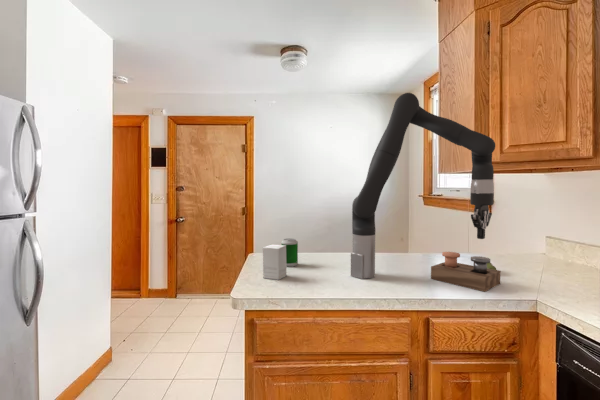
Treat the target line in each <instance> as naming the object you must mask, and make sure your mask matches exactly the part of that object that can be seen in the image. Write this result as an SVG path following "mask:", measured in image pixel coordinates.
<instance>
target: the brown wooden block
mask: <svg viewBox="0 0 600 400" xmlns="http://www.w3.org/2000/svg"><path fill="white" fill-rule="evenodd" d="M473 266H474V265H473V264H471V265H470V264H468V263H467V264H466V263H462V262H457V268H450V267H445V261H444V262H441V263H438V264H434V265H432V266H431V267H430V279H431V280H433V281H439V282H442V283H447V284H450V285H456V286H458V287H463V288H467V289H472V290H475V291H480V292H485V293H486V292H487V291H490V290H492V289H493V288H495V287H496V286H499V285H501V274H502V273H501V270H498V269H496V270H493V269H488V268H487V274H480V273H475V272H473Z"/></svg>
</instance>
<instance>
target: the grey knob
mask: <svg viewBox="0 0 600 400" xmlns="http://www.w3.org/2000/svg"><path fill="white" fill-rule="evenodd" d="M470 261H471V262H473V265H472V266H473V272H475V273H480V274H487V263H491V258H489V257H486V256H470Z"/></svg>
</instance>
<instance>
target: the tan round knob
mask: <svg viewBox="0 0 600 400" xmlns="http://www.w3.org/2000/svg"><path fill="white" fill-rule="evenodd" d="M441 254H442V257H444V262H445V267H450V268H457V263H458V258H460V257H461V254H460V252H455V251H442V253H441Z"/></svg>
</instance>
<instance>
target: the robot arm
mask: <svg viewBox="0 0 600 400" xmlns="http://www.w3.org/2000/svg"><path fill="white" fill-rule="evenodd" d="M410 124H412V125H415V126H416V127H420V128H423V129H425V130H427V131H429V132H432V133H433V134H434V135H437V136H439V137H441V138H443V139H445V140H447V141H449V142H451V143H452V144H454V145H457V146H458V147H463V148H465V149H468V151H470V153H471V154H470V155H471V163H472V164H471V166H472V167H471V182H470V195H469V196H470V197H469V198H470V199H469V201H470V203H469V204H470V205H472V206H474V210H473V214H472V213H471V214H470V219H471V221H472V224H473V227H474V228H476V231H477V233H476V238H477V239H479V240H484V239H485V238H486V229H487V227H489V224H490V222H491V219H492V218H491V217H492V215H493V214H492V212H490V206H493V205H494V203H495V201H494V200H495V199H494V198H495V197H494V195H495V182H494V170H495V169H494V165H493V153H494V151H495V149H496V142H495V141H494V139H493V138H492V137H490V136H488V135H486V134H484V133H481V132H478V131H476V130H473V129H471V128H469V127H467V126H465V125H463V124H461V123H459V122H457V121H454V120H452V119H450V118H448V117H442V116H439V115H435V114H434V113H431V112H429V111H427V110H426V109H424V108H423V107H421V106H420V101H419V99H418V97H417V96H416V95H415V94H414V93H411V92H405V93H403V94H401V95H400V96H398V97H397V99H396V100H395V102H394V105H393V108H392V111H391V115H390V118H389V121H388V124H387V126H386V128H385V130H384V131H383V134H382V136H381V137H380V140H379V142H378V143H377V146H376V149H375V151H374V153H373V156H372V158H371V160H370V163H369V167H368V171H367V175H366V179H365V182H364V184H363V186H362V188H361V189H360V191H359V194H358V195H357V196H356V197H355V198H354V200H353V201H352V204H351V205H352V209H351V215H352V216H351V217H352V220H351V221H352V222H351V223H352V224H351V227H352V228H351V229H352V233H351V234H352V240H351V241H352V242H351V243H352V245H351V247H352V249H351V251H352V252H350V276H351V277H353V278H354V277H355V278H357V279H361V280H363V279H372V278H375V276H376V211H377V208H378V204H379V200H380V197H381V194H382V192H383V189H384V187H385V185H386V183H387V181H388V179H389V178H390V176H391V174H392V171H393V170H394V168H395V166H396V163H397V161H398V158H399V156H400V153H401V150H402V147H403V144H404V140H405V139H404V138H405V134H406V132H407V130H408V127H409V125H410Z"/></svg>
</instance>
